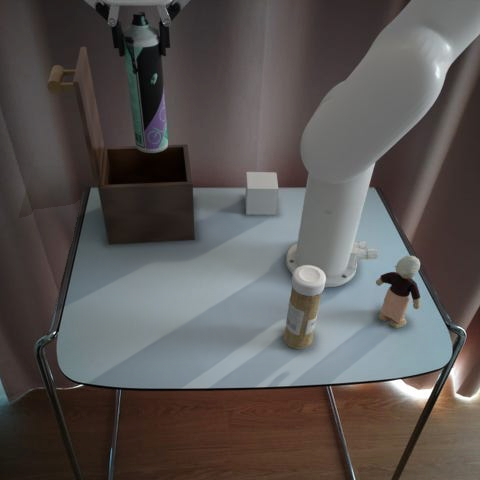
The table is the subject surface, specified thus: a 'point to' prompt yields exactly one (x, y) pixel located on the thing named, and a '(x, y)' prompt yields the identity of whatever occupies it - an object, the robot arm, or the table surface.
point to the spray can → (145, 84)
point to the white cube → (261, 193)
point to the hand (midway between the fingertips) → (142, 51)
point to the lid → (83, 107)
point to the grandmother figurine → (400, 291)
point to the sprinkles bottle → (303, 305)
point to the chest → (147, 195)
